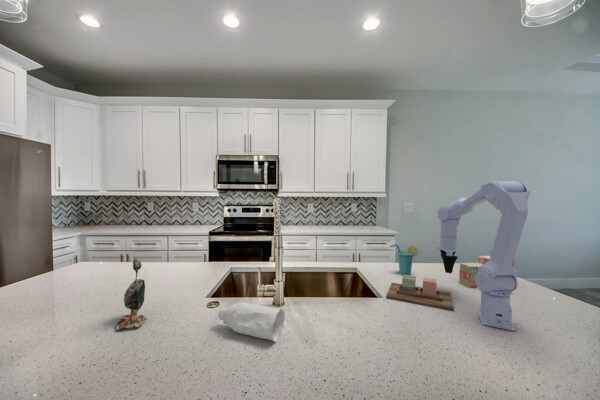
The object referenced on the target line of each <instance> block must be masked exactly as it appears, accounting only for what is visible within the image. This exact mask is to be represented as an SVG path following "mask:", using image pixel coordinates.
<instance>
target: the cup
mask: <svg viewBox="0 0 600 400" xmlns="http://www.w3.org/2000/svg"><path fill="white" fill-rule="evenodd" d="M389 246H390V248H392V247H393V248H394V247H397V250H398V251H397V256H398V269H399V271H398V272H399V275H401V274H402V276H403V275H410V276H412V274H411V273H412V265H413V257H416V256H418V254H419V252H420V251H419V248H418V247H416V246H414V245H412V246H409V247H408V248H407V251H406V250H405V251H404V250H401V249H400V246H399V245H398V244H396V243H395V244H391V245H389Z"/></svg>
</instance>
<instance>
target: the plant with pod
mask: <svg viewBox="0 0 600 400" xmlns="http://www.w3.org/2000/svg"><path fill="white" fill-rule="evenodd" d="M142 266H143V265H142V260H140V258H138V257H134V258H133V261H132V269H133V271H134V272H135V280H133V282H131V283H130V284H129V286H128V287H127V289H126V291H125V292H124V295H123V303H124V307H125V308H126V309H128V310H130V314H126V315H124V316H122V318H120V319H119V320H118V321H117V322H116V323H115V327H116V329H115V330H116V331H119V330H121V329H123V328H125V329H126V328H129V329H132V328H134V329H137V328H140V327H141V326H142V325H143V323H144V322H146V321H147V317H145V315H143V314H141V315H139V314H138V312H139V311H140V309H141V308H142V306H143V305H144V302H145V290H146V282H145V280H144V279H142V278H138V279H137V277H138V273H139V270H141V268H142Z"/></svg>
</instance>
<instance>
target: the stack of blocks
mask: <svg viewBox="0 0 600 400" xmlns="http://www.w3.org/2000/svg"><path fill="white" fill-rule="evenodd" d="M490 256H491V255H478V256H477V262H460V263H459V282H458V283H459V284H461V285H463V286H465V287H467V288H469V289H472V288H473V289H474V288H475V289H476V288H477V289H479V288H478V286H477V285H476V282H475V276H476V274H477V273H478V272H479V270H480V267H481V266H482V265H483V264H485V263H486V262H488V261H489V260H490ZM512 267H513V268H514V269H515V259H514V260H513V263H512Z"/></svg>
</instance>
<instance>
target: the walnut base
mask: <svg viewBox="0 0 600 400" xmlns="http://www.w3.org/2000/svg"><path fill="white" fill-rule="evenodd" d="M416 277H417V275H416V276H415V275H402V277H401V278H402V280H401V281H402V283H396V282H391V283H390V286H389V289H388V291H387V293H386V296H385V298H386V299H388V300H394V301H399V302H405V303H409V304H415V305H420V306H425V307H430V308H436V309H441V310H446V311H451V312H454V311H455V310H454V309H455V308H454V302H453V299H452V294H451V292H450V291H446V290H440V289H436V297H434V296H429V295H423V287H419V286H416V280H417V279H416Z"/></svg>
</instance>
